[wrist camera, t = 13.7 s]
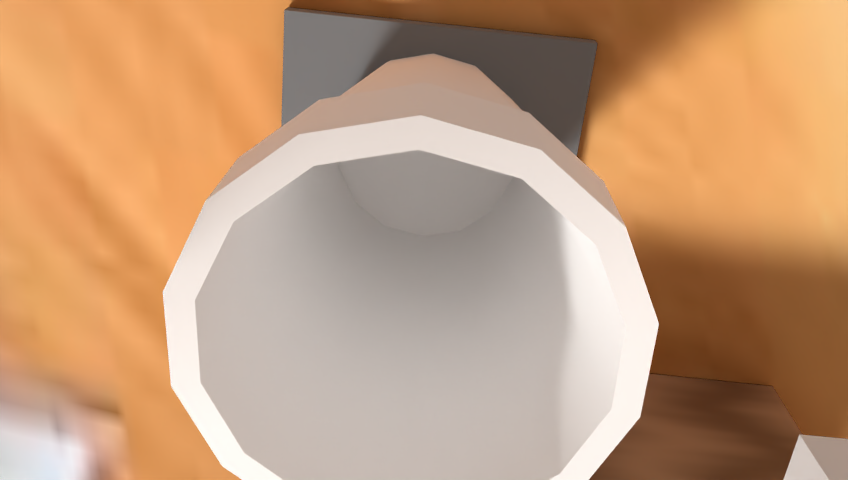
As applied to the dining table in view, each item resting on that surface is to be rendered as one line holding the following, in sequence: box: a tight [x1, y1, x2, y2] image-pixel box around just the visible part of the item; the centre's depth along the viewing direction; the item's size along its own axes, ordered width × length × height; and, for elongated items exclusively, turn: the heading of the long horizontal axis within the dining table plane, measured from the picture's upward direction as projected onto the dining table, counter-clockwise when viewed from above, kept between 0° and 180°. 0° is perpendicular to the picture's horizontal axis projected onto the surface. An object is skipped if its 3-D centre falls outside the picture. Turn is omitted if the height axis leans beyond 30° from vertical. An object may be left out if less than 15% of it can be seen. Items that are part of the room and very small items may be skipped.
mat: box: [281, 7, 597, 156], centre depth 28 cm, size 10×8×1 cm
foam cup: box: [163, 53, 659, 480], centre depth 21 cm, size 10×9×13 cm
